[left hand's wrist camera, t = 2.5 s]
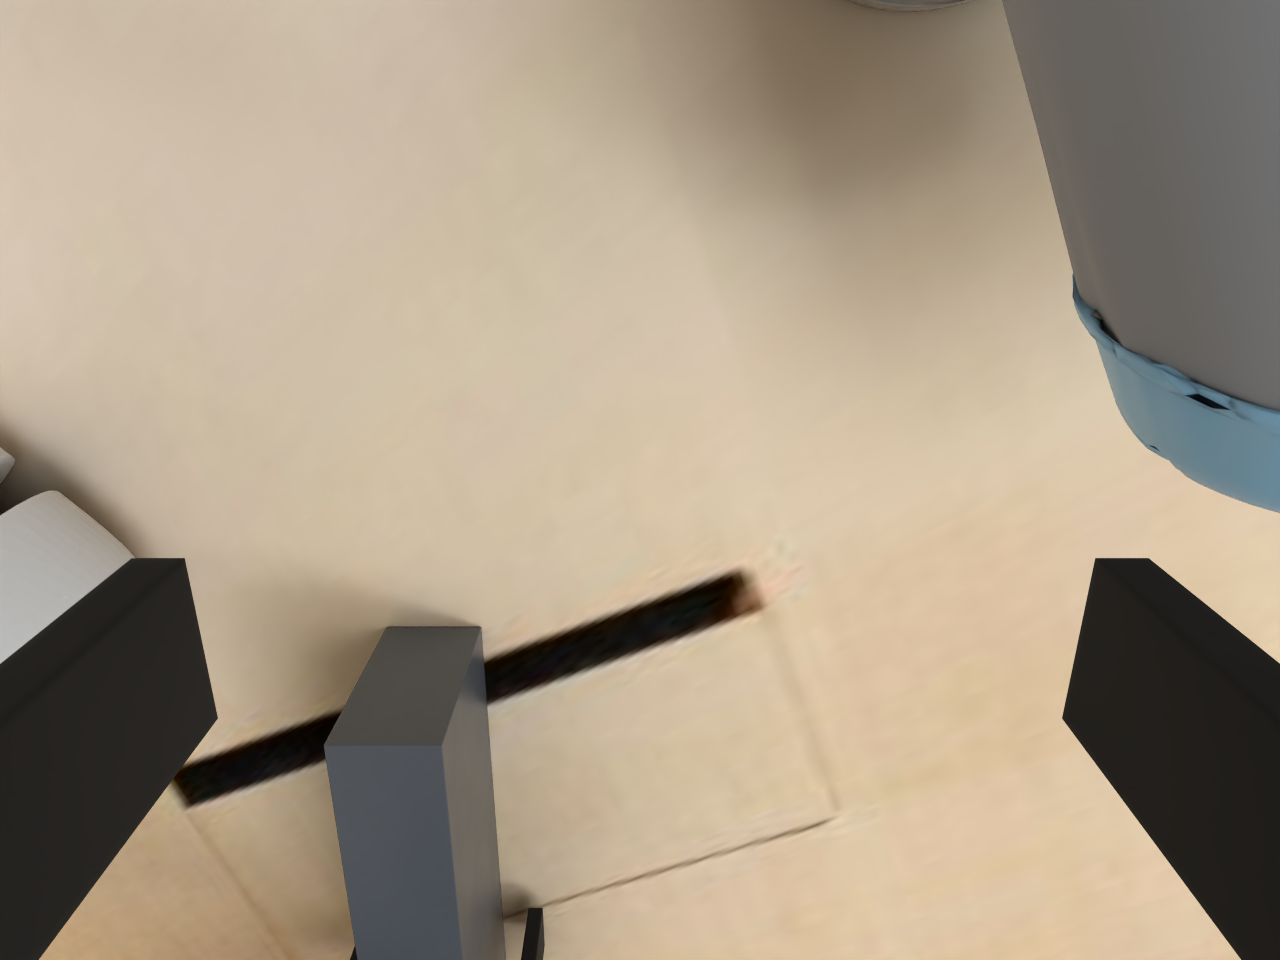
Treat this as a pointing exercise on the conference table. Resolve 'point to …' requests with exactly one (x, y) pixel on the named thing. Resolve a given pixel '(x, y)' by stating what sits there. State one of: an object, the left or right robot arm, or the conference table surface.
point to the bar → (419, 800)
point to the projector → (48, 562)
